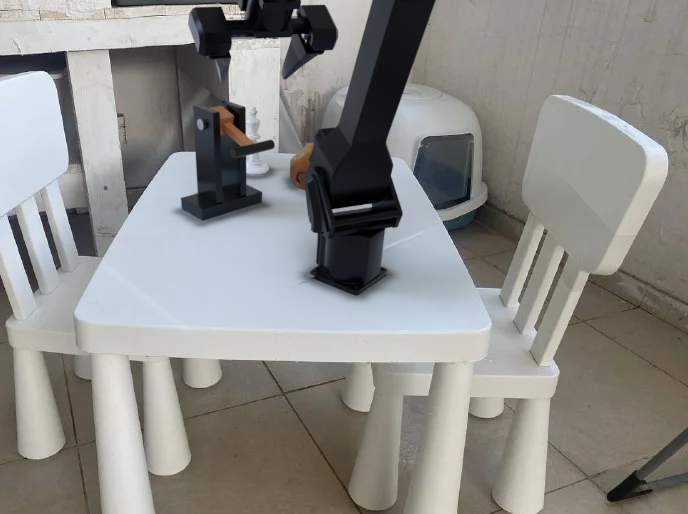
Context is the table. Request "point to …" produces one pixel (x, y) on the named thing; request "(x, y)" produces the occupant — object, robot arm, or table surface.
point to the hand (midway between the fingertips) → (253, 79)
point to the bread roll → (300, 165)
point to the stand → (219, 166)
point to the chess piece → (254, 163)
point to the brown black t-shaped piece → (240, 136)
